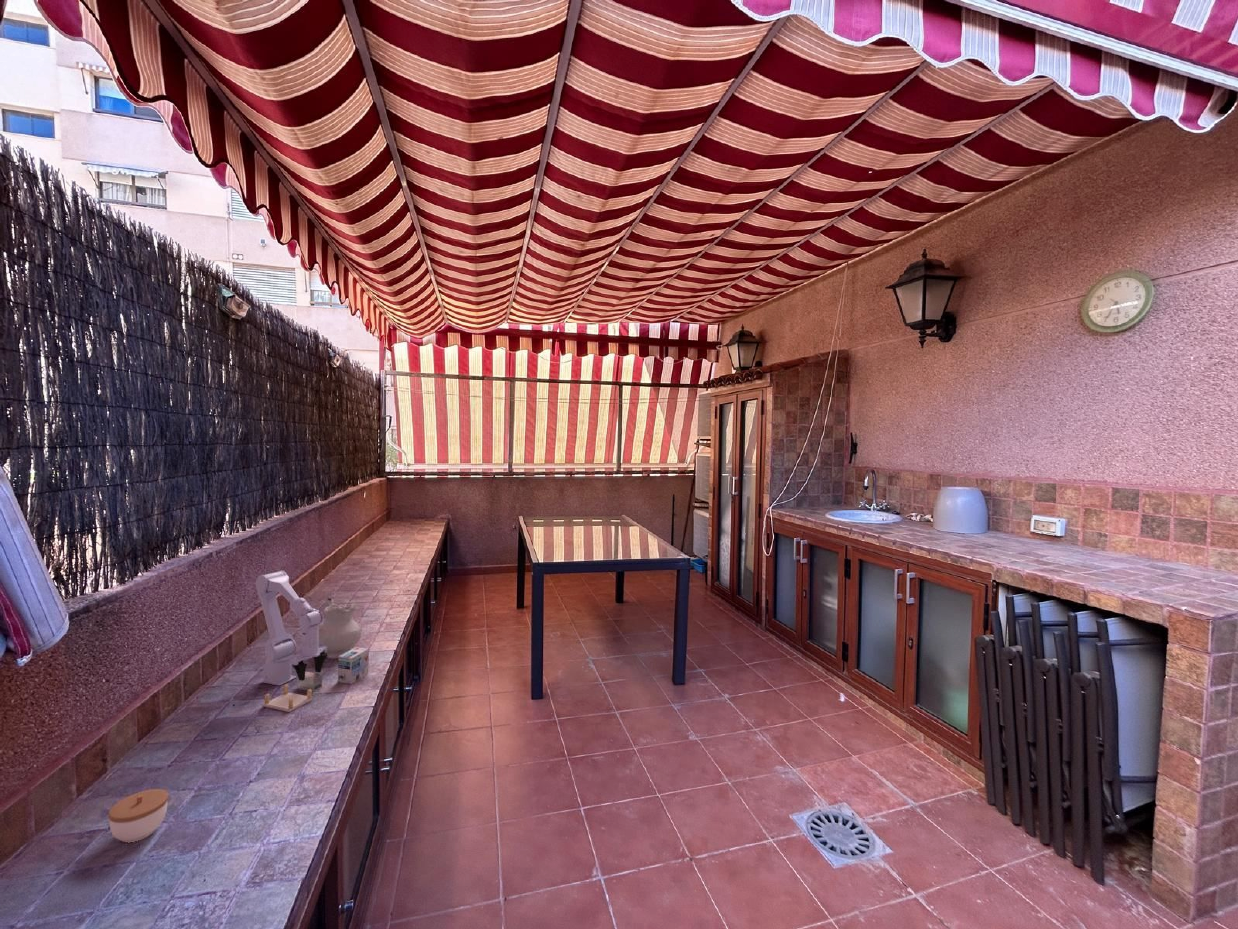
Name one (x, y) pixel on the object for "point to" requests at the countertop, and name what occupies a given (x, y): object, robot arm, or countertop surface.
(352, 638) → the beige vase
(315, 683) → the mauve rectangular box
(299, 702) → the wooden peg board
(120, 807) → the lidded jar
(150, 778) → the countertop surface
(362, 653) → the light bulb box
